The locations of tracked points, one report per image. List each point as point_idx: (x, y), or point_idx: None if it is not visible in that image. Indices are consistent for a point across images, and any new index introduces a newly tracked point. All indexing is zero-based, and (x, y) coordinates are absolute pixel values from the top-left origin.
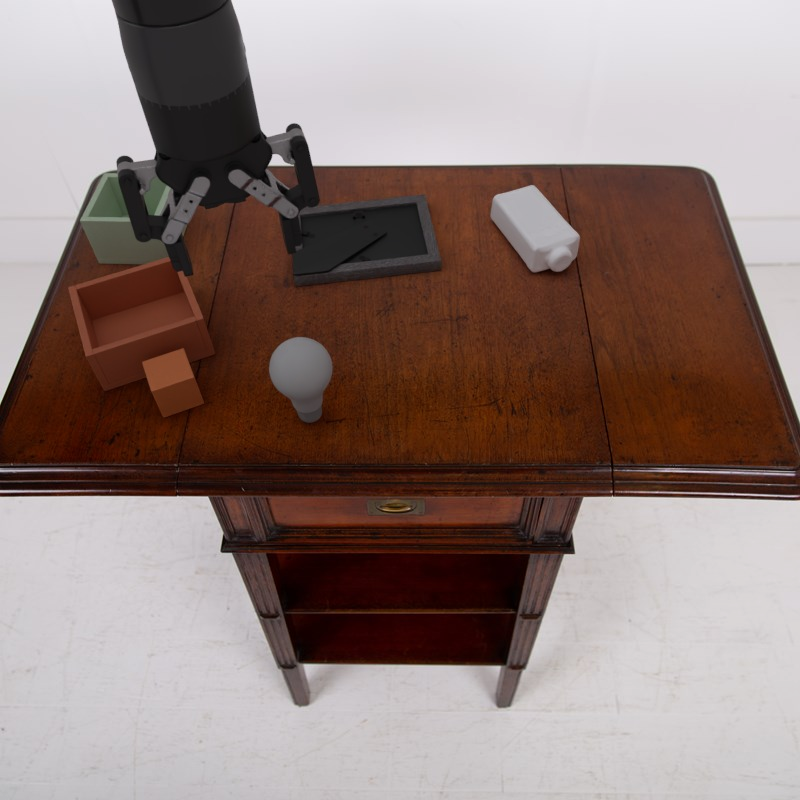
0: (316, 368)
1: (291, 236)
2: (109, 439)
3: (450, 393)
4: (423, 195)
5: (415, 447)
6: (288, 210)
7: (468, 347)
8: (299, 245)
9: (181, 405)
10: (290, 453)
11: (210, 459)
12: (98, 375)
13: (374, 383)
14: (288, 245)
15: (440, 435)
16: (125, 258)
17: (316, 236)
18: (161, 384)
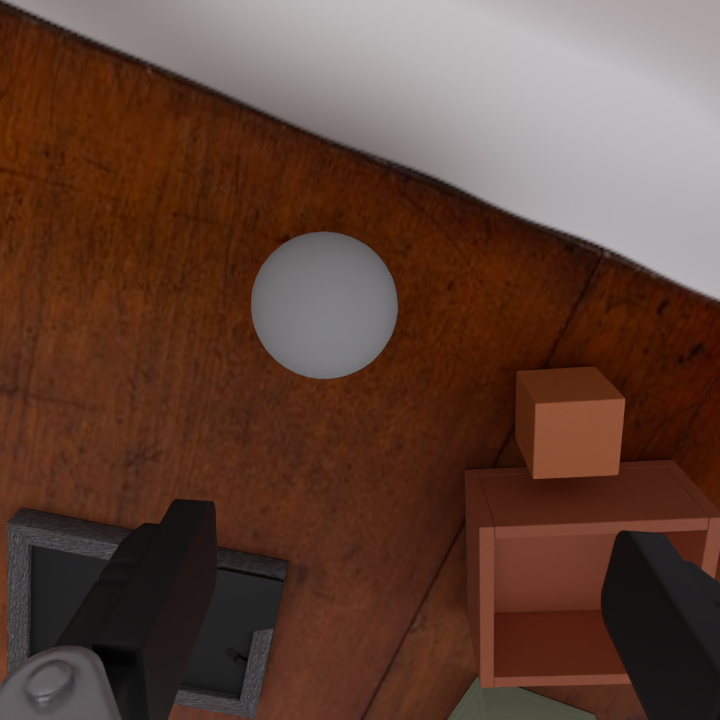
0: (288, 264)
1: (149, 560)
2: (699, 355)
3: (63, 224)
4: (10, 670)
5: (160, 119)
6: (55, 702)
7: (6, 319)
8: (149, 524)
9: (560, 374)
10: (398, 199)
11: (543, 242)
12: (690, 483)
13: (202, 301)
14: (188, 529)
15: (105, 129)
16: (553, 710)
17: (223, 648)
18: (601, 408)
